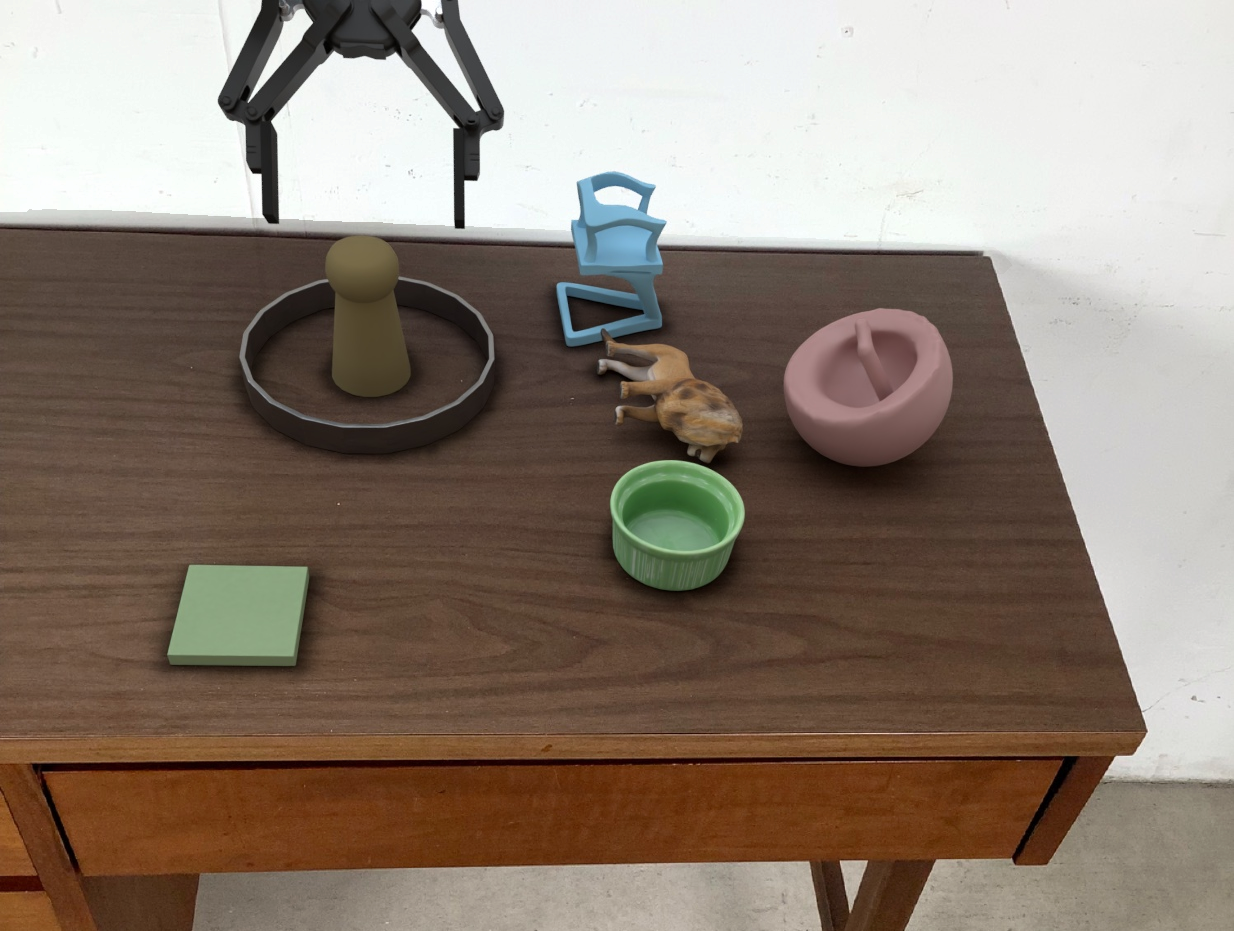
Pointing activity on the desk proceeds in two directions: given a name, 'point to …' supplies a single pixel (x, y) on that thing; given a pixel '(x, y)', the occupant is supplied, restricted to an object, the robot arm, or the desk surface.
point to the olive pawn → (366, 317)
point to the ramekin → (674, 523)
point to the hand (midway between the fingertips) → (365, 222)
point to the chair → (614, 257)
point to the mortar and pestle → (869, 386)
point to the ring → (367, 435)
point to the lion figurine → (674, 397)
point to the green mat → (239, 616)
